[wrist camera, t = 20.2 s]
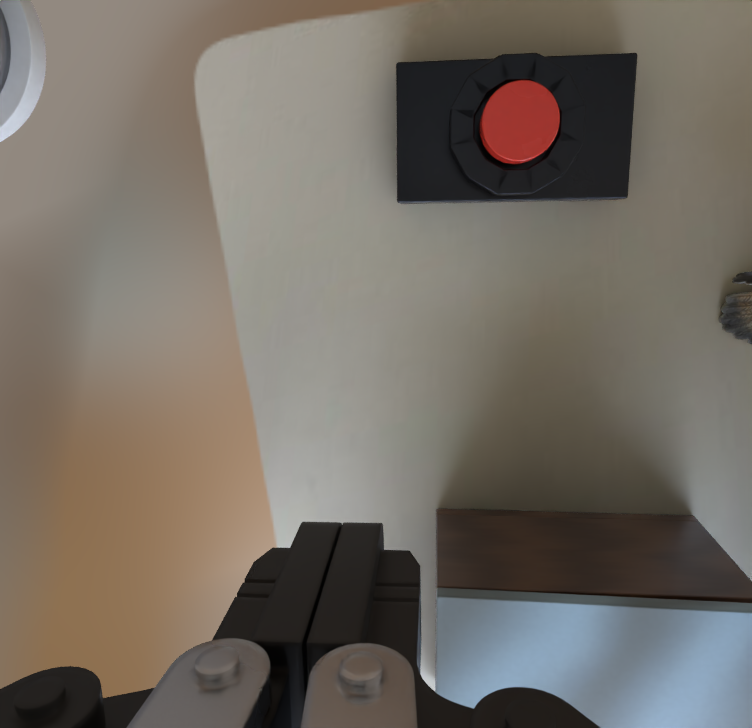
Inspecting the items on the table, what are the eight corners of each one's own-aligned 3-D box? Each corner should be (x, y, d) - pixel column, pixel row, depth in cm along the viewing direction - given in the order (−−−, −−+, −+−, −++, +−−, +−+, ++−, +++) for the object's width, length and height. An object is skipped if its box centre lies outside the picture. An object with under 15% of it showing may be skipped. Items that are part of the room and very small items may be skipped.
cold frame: (693, 515, 38) (767, 598, 30) (675, 693, 41) (738, 817, 32) (436, 508, 40) (436, 586, 31) (435, 680, 42) (435, 796, 34)
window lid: (790, 604, 29) (799, 614, 28) (758, 825, 32) (766, 840, 31) (436, 586, 31) (436, 595, 30) (435, 796, 34) (435, 810, 33)
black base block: (399, 204, 36) (395, 201, 32) (398, 72, 34) (393, 52, 31) (616, 199, 35) (638, 196, 31) (625, 63, 33) (650, 42, 29)
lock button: (478, 165, 32) (480, 161, 30) (480, 88, 31) (482, 80, 29) (551, 163, 31) (558, 160, 30) (554, 85, 31) (562, 78, 29)
